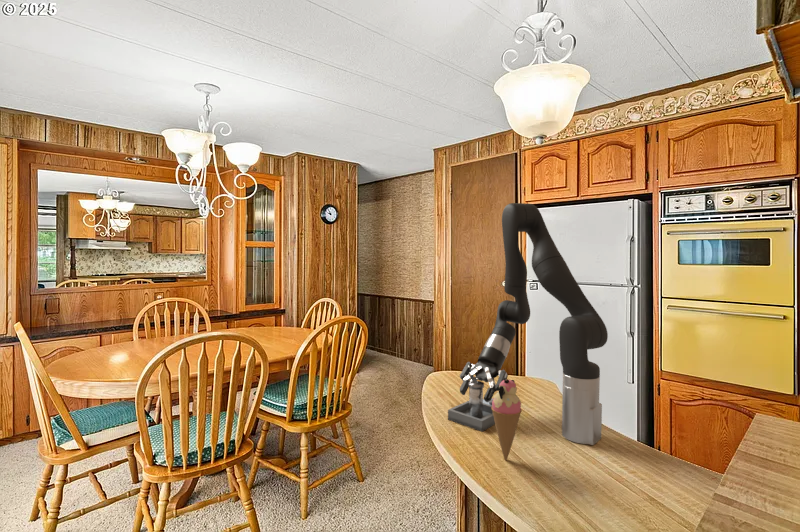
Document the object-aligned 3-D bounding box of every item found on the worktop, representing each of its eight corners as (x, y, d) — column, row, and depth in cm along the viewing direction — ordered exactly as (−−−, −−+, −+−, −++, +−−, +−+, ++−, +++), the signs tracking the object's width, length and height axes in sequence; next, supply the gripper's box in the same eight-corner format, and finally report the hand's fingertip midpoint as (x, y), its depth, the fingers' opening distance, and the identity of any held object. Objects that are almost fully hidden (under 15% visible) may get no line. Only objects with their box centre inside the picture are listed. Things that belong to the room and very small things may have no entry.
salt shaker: (486, 415, 127) (486, 383, 127) (478, 420, 124) (478, 386, 123) (474, 411, 130) (474, 379, 130) (465, 416, 127) (465, 383, 126)
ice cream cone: (513, 470, 97) (514, 385, 97) (485, 461, 102) (485, 379, 101) (527, 457, 104) (528, 377, 103) (500, 448, 108) (500, 371, 107)
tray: (504, 419, 127) (504, 409, 127) (481, 431, 118) (481, 421, 118) (471, 408, 135) (471, 399, 135) (447, 419, 127) (447, 409, 127)
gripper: (471, 341, 136) (449, 385, 128) (510, 349, 126) (489, 396, 119) (480, 355, 140) (459, 397, 132) (519, 363, 130) (499, 409, 123)
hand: (473, 397), depth 126 cm, fingers open, 8 cm apart
